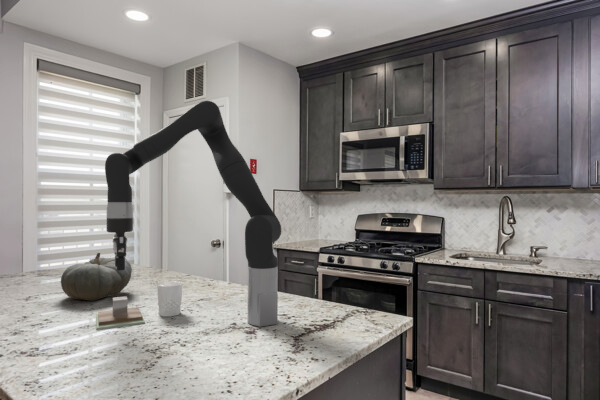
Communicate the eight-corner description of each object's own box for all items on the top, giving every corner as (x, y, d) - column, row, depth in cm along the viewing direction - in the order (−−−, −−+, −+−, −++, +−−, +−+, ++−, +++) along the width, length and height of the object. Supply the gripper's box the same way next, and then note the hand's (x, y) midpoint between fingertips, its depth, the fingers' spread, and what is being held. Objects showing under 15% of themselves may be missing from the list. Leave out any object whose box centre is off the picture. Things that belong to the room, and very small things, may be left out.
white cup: (151, 315, 125) (152, 284, 125) (170, 309, 132) (170, 280, 132) (169, 318, 121) (169, 287, 121) (187, 312, 128) (187, 282, 128)
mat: (144, 323, 116) (144, 321, 116) (96, 329, 110) (96, 327, 110) (139, 310, 130) (139, 308, 130) (96, 315, 124) (96, 313, 124)
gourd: (146, 283, 161) (139, 243, 158) (112, 309, 137) (103, 263, 134) (92, 287, 164) (84, 248, 161) (49, 313, 139) (39, 268, 137)
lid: (142, 319, 118) (142, 300, 118) (98, 325, 112) (99, 305, 112) (138, 310, 128) (138, 292, 128) (98, 315, 122) (98, 296, 122)
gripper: (135, 217, 116) (135, 270, 116) (130, 216, 128) (130, 264, 128) (107, 217, 112) (107, 272, 112) (105, 216, 125) (105, 266, 124)
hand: (119, 268), depth 120 cm, fingers open, 8 cm apart
